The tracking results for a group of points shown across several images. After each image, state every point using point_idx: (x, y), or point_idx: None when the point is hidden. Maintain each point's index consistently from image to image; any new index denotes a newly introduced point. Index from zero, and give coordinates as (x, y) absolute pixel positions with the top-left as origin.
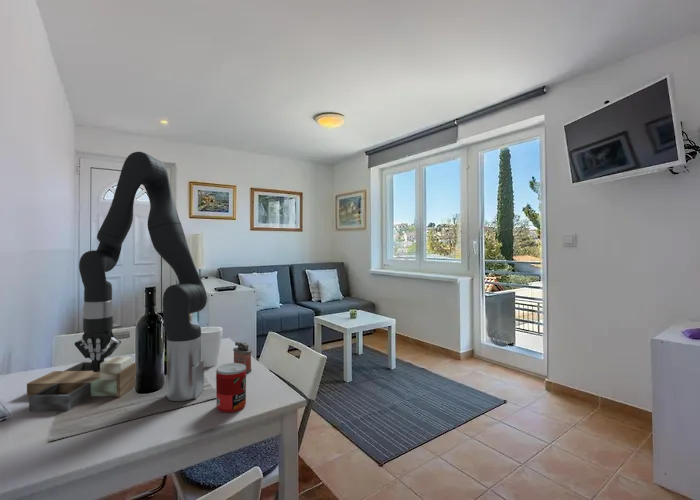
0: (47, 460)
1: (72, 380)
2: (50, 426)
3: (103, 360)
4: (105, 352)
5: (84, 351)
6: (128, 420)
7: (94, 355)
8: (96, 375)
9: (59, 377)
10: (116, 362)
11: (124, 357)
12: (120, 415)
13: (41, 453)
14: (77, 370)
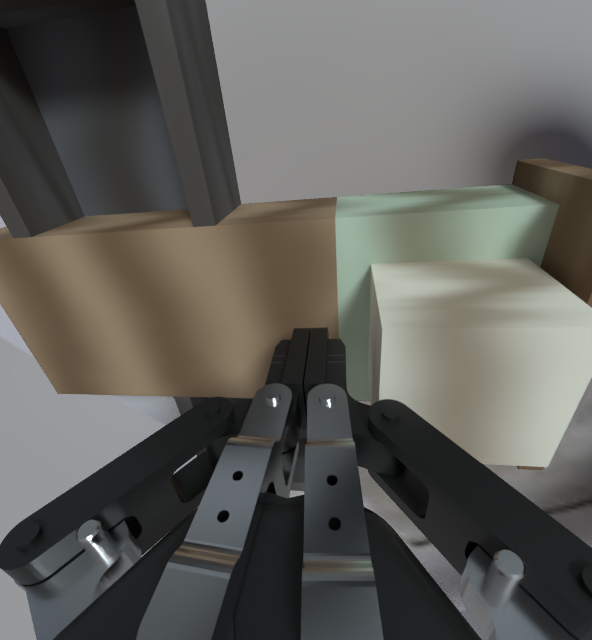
0: (456, 581)
1: (221, 371)
2: (363, 503)
3: (346, 390)
4: (402, 503)
5: (197, 503)
6: (585, 502)
7: (293, 467)
8: (293, 309)
9: (112, 333)
10: (502, 450)
11: (527, 342)
12: (546, 479)
13: (428, 567)
14: (3, 115)
